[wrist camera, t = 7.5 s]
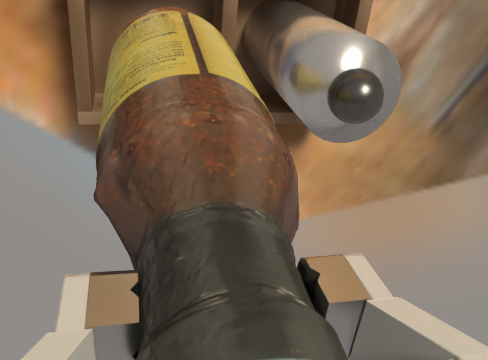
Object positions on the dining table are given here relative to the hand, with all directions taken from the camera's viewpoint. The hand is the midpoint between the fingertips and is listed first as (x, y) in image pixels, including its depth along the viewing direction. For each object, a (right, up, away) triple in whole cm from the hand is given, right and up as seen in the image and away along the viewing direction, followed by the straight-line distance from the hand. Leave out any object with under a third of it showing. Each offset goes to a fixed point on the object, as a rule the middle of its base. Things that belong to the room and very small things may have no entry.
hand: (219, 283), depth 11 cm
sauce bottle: (-3, +9, +14) cm, 16 cm away
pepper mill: (+3, +15, +27) cm, 31 cm away
